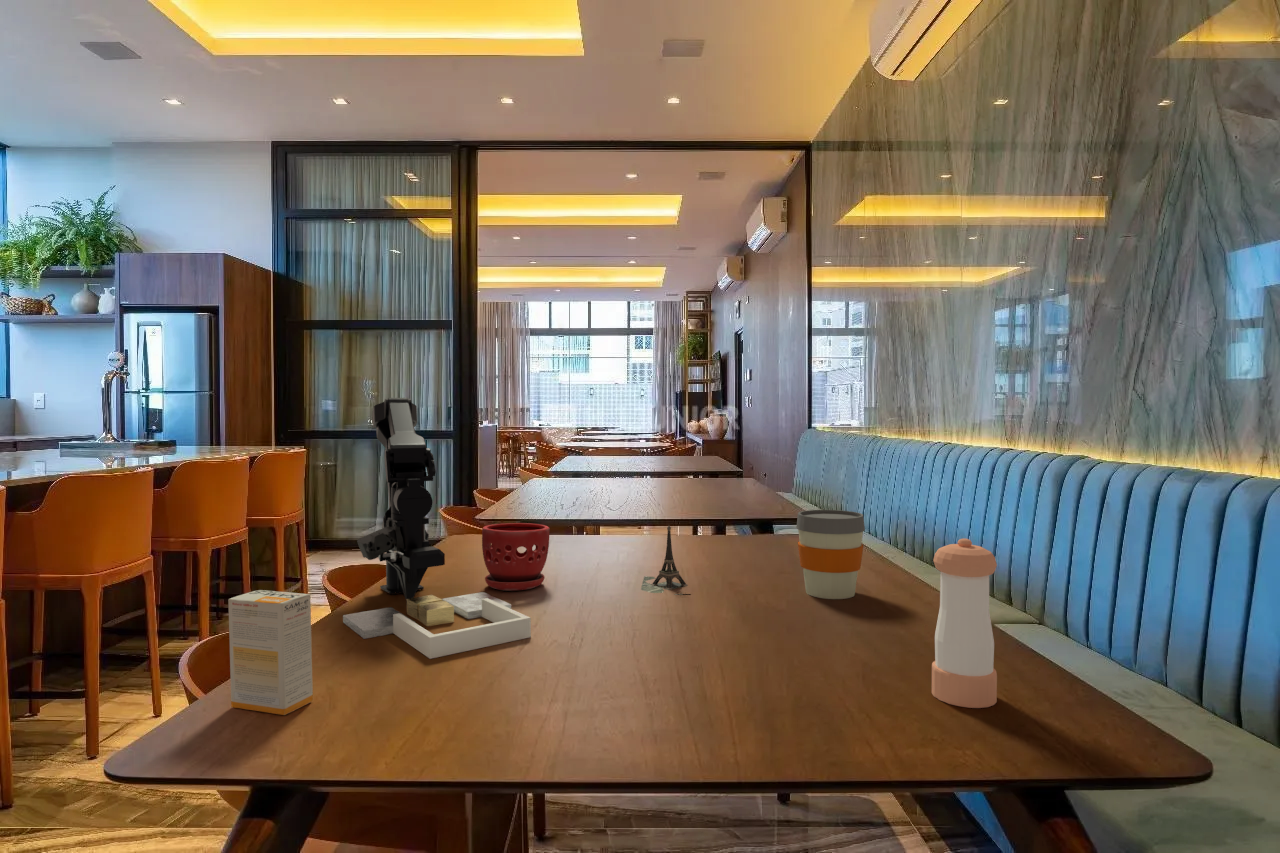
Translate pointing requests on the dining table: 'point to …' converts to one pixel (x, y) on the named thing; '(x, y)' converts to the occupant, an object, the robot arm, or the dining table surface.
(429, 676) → the dining table surface
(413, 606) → the tan block
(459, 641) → the tray
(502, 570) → the plant pot
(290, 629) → the supplement box
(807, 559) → the reusable coffee cup
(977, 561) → the salt shaker
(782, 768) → the dining table surface
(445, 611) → the beige wooden block
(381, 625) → the plate
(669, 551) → the eiffel tower figurine
